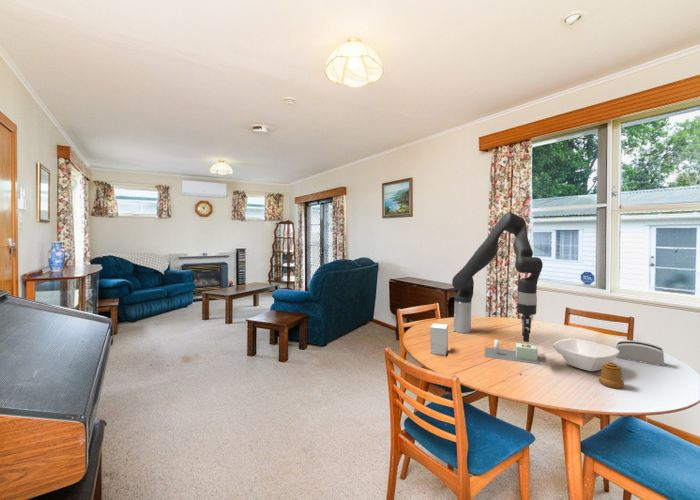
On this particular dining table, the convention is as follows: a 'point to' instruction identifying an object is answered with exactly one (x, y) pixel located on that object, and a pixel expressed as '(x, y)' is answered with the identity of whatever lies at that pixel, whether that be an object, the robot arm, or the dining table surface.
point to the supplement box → (439, 339)
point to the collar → (526, 352)
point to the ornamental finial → (611, 376)
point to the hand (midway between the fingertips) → (525, 338)
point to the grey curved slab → (640, 352)
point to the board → (506, 354)
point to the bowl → (585, 353)
